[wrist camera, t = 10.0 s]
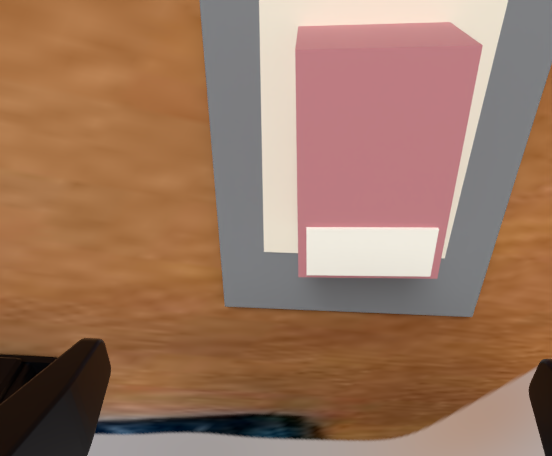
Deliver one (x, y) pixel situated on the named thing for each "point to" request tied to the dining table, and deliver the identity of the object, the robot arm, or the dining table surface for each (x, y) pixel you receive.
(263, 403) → the dining table surface
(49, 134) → the dining table surface
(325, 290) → the mat
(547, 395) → the robot arm
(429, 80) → the pink and white block
